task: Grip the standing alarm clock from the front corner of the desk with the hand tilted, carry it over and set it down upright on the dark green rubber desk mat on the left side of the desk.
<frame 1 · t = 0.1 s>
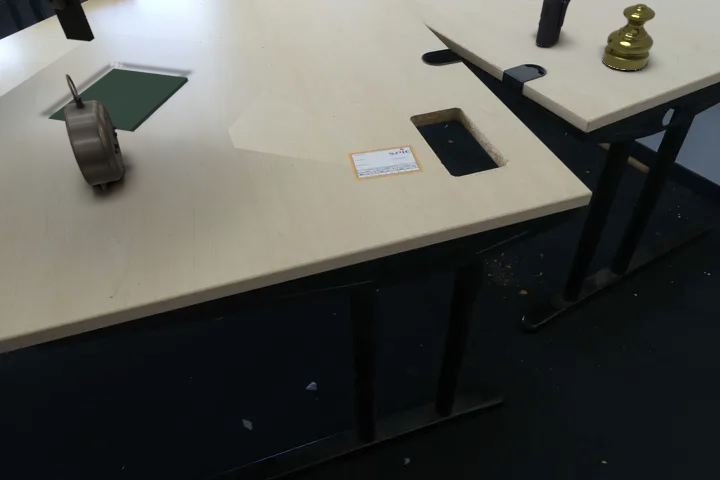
hand: (122, 11, 56), 25 cm above the table, tool pointing down, fingers open, 13 cm apart
gold round tapered piece: (622, 63, 95), on the table
alarm clock: (115, 181, 77), on the table
desk mat: (121, 99, 93), on the table
two-way radio: (549, 44, 102), on the table
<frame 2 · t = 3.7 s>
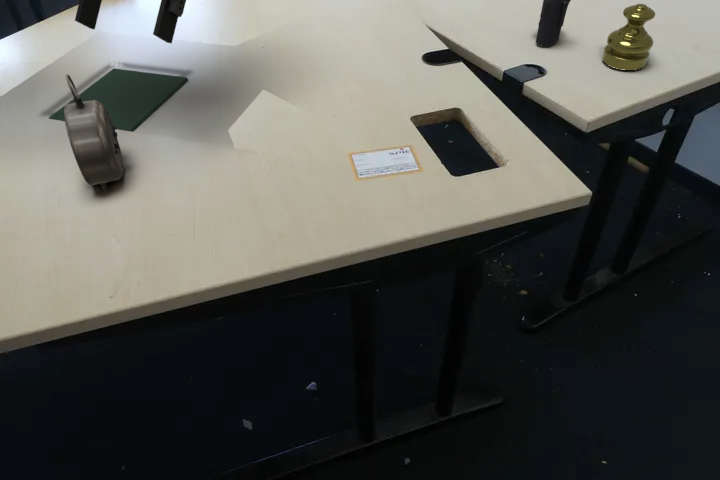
hand: (122, 32, 71), 17 cm above the table, tool tilted 45°, fingers open, 13 cm apart
nothing on the table moved.
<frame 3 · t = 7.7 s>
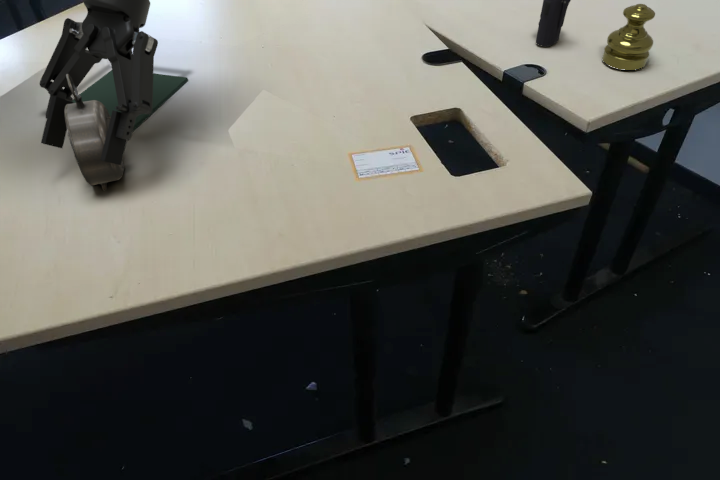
hand: (80, 154, 70), 7 cm above the table, tool tilted 45°, fingers closed on alarm clock, 10 cm apart
alarm clock: (115, 181, 77), on the table, touching gripper
everything else where it was.
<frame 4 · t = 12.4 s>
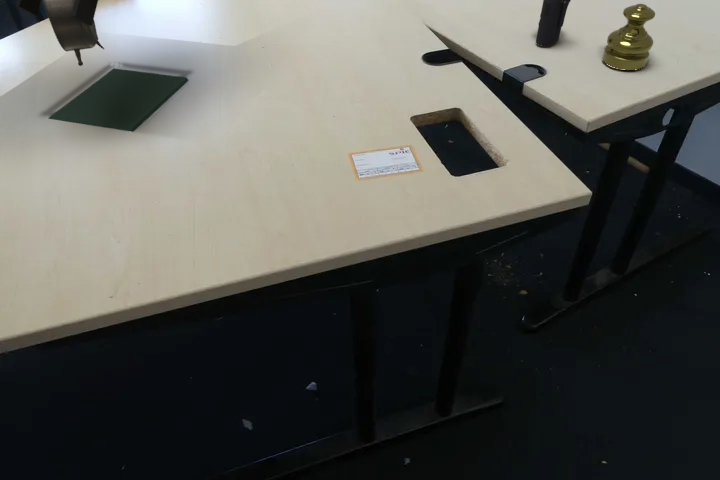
hand: (53, 15, 73), 19 cm above the table, tool tilted 45°, fingers closed on alarm clock, 10 cm apart
alarm clock: (89, 53, 79), point 12 cm above the table, touching gripper
everything else where it was.
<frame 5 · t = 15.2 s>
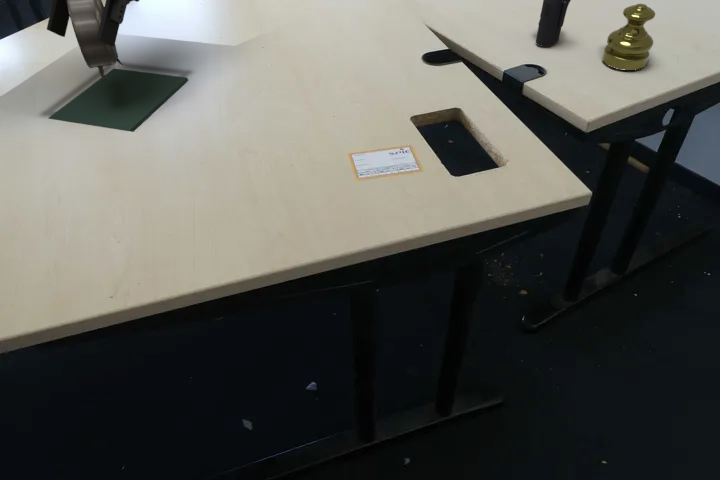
hand: (80, 37, 83), 12 cm above the table, tool tilted 45°, fingers closed on alarm clock, 10 cm apart
alarm clock: (110, 69, 89), point 6 cm above the table, touching gripper
everything else where it was.
when the fingers open (7 cm above the table, at t = 17.2 s): alarm clock stays where it is, resting on desk mat.
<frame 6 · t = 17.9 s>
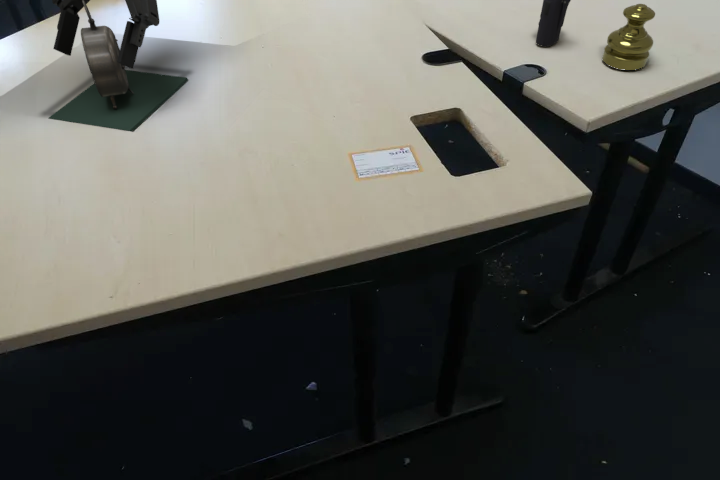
hand: (92, 59, 86), 9 cm above the table, tool tilted 45°, fingers open, 13 cm apart
alarm clock: (121, 97, 93), resting on desk mat
everything else where it was.
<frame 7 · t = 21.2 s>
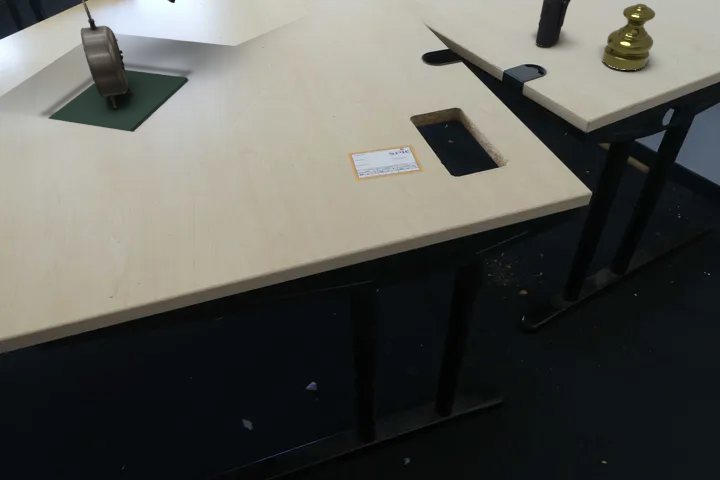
nothing on the table moved.
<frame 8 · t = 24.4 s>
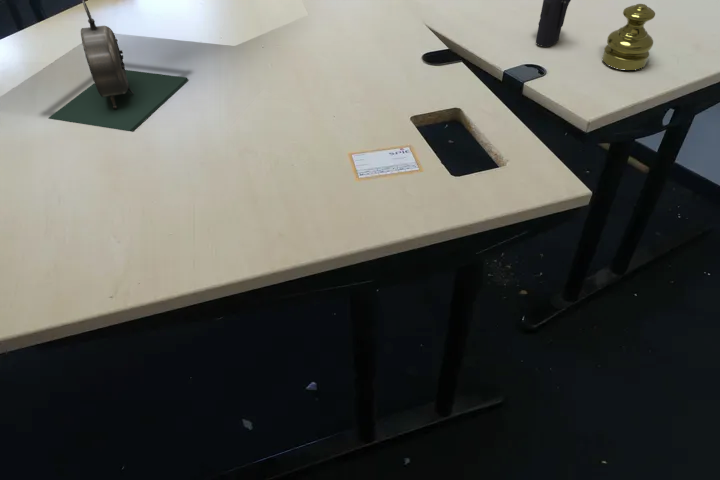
nothing on the table moved.
at the end: alarm clock inside the target area on the desk mat (0.1 cm from its centre), point 0.4 cm above the desk mat's base; alarm clock tilted 0°; the gripper is holding nothing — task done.
